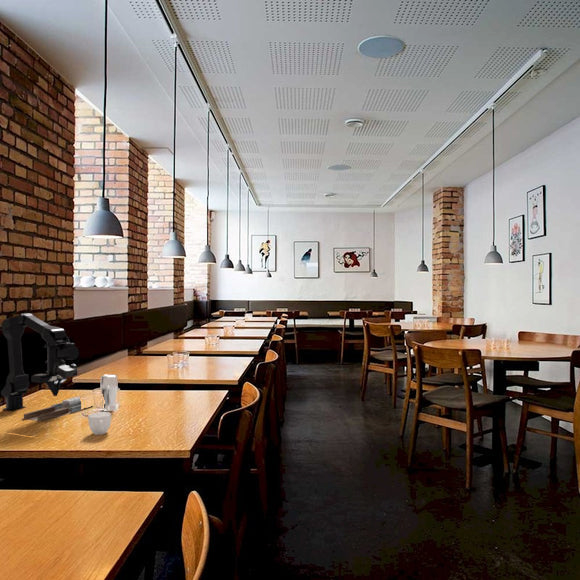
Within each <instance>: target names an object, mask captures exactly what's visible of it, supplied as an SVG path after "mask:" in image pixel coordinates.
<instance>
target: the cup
mask: <svg viewBox="0 0 580 580" xmlns="http://www.w3.org/2000/svg"><path fill="white" fill-rule="evenodd" d="M87 416H88V417H87V418H88V426H89V429H90V431H91V432H92V434H93V435H96V436H100V435H105V434H106V433H107V432H108V430H109V428H110V426H111V422H112V412H110V411H101V412H100V411H99V412H98V411H97V412H93V413H90V414H89V415H87Z"/></svg>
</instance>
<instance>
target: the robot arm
mask: <svg viewBox="0 0 580 580" xmlns="http://www.w3.org/2000/svg"><path fill="white" fill-rule="evenodd" d="M0 326H1V331H2V335H3V336H4V337H5V339H6V340H7V352H8V365H9V367H8V368H9V373H8V375H7V377H6V380H5V386H4V387H3V388H2V390H1V391H0V395H1V397H4V398H5V407H4V408H2V410H3V411H8V412H15V411H18V410H22V409H25V408H27V407H26V406H24V397H23V396H24V394H27V392H28V390H29V388H30V387H29V386H30V385H29V384H30V382H31V383H37V384H43V383H45V384H46V385H47V386H48V388H49V390H50V391H51V393H52V395H53V397H57V396H58V394H59V392H60V389H61V386H62V383H64V382H65V381H66V380H67V379H68V378H71V377H75V376H78V374H79V373H78V369H77V365H76V364H75V363H72V364H68V365H67V364H66V363H67V362H66V360H70V361H74V360H77V358H78V357H79V355H80V350H79V349H78V347H77V346H76V343H75V342H71V340H70V339H69V337H68V335H67V333H66V331H65V329H64V328H61V327H58V326H54V325H53V326H52V325H50V324H48V323H46V322H45V321H43V320H41V319H40V318H38V317H36V316H35V315H33V314H32V313H30V312H27V313H26V312H24V313H20V314H18V315H15V316H13V317H9V318H5V319H3V321H2V322H1V325H0ZM26 327H29V328H30V329H32V330H33V331H36V332H37V333H39V334H40V335H41V339H43V340H44V341H45V342H46V343H45V344H44V346H43V348H45V349H47V360H45V361H44V362H45V363H44V364H45V365H47V370H45V371H44V372H45V373H38V374H37V373H36V374H33V375H32V376H31V377H30V375H29V374H28V373H27V374H26V372H24V366H23V356H22V355H23V353H22V341H21V340H22V339H21V338H22V336H23V334H24V331H25V328H26ZM29 378H31V380H30V379H29Z"/></svg>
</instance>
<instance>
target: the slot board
mask: <svg viewBox="0 0 580 580" xmlns="http://www.w3.org/2000/svg"><path fill="white" fill-rule="evenodd" d="M80 411H82V410H81V405H79V406H75V407H72V408H71V410H70V411H69V408H64V409H62V402H59V403H56V404H52V405H50V406H49V407H44V408H40V409H37V410H35V411H31V412H26V413H23V417H22V418H21V419H22V420H27V421H33V422H41V423H45V422H47V421H51V420H54V419H57V418H60V417H64V416H68V415H71V414H74V413H76V412H80Z"/></svg>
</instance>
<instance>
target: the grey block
mask: <svg viewBox="0 0 580 580" xmlns="http://www.w3.org/2000/svg"><path fill="white" fill-rule="evenodd" d="M80 397H81V396H74V397H71V398H69V399H77V406H79V405H81V401H80Z"/></svg>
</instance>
